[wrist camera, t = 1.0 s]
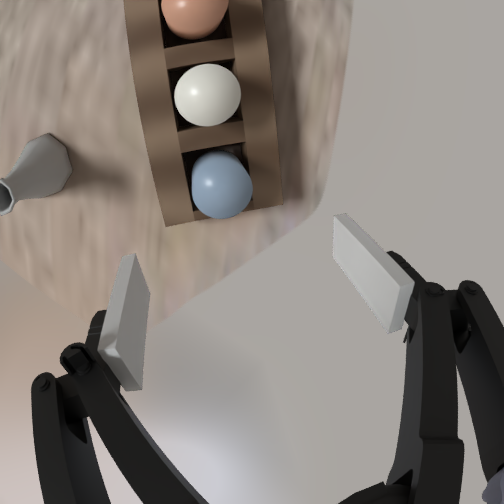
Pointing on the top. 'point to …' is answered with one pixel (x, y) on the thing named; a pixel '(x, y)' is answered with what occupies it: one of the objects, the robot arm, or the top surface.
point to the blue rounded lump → (220, 184)
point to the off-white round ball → (207, 95)
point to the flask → (35, 172)
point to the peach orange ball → (193, 16)
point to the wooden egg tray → (194, 136)
